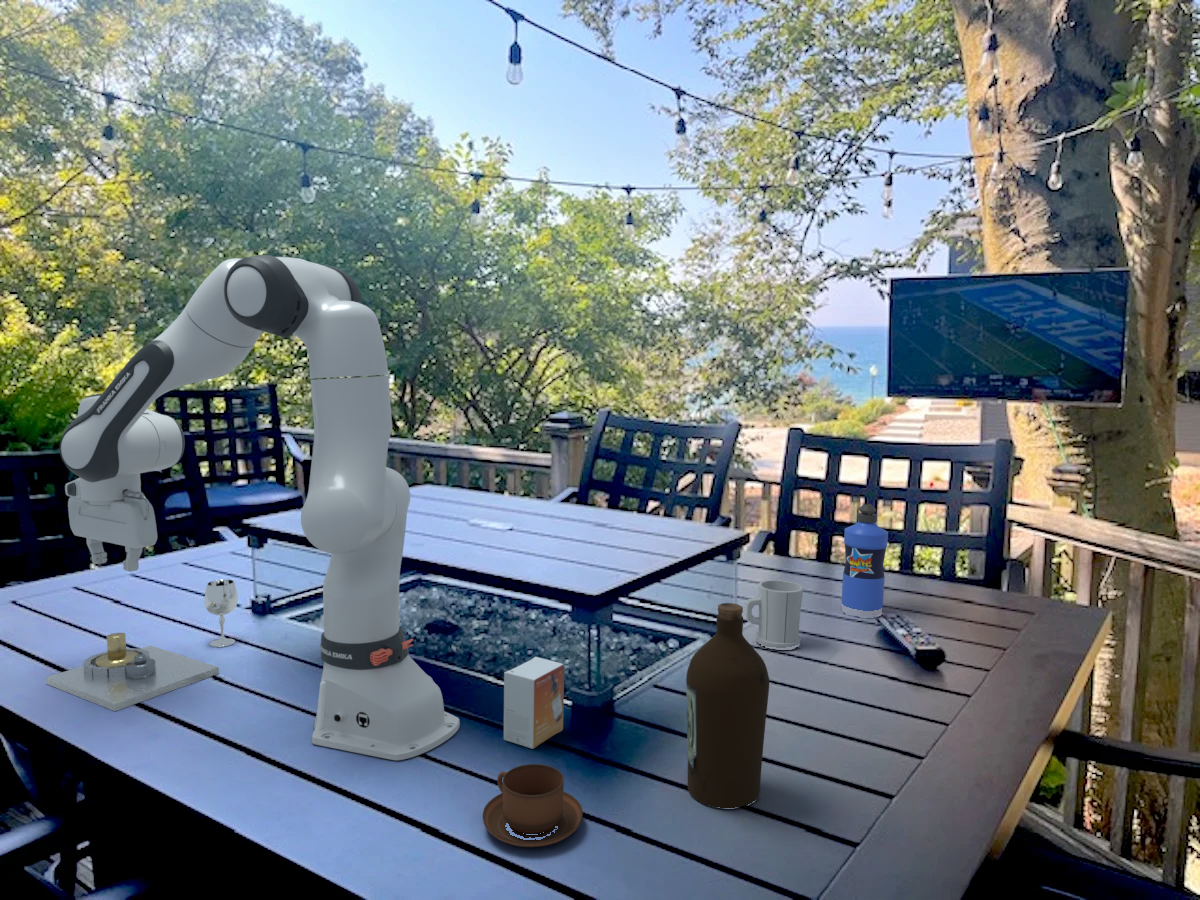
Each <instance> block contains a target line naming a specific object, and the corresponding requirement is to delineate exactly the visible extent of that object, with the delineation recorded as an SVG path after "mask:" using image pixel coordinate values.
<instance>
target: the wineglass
mask: <svg viewBox="0 0 1200 900" xmlns="http://www.w3.org/2000/svg"><path fill="white" fill-rule="evenodd" d="M205 588H206V589H205V595H204V607H205V609H206V611H207V612H208V613H209V614H211V615H215V616H219V619H218V622H219V626H220V638H218V639H216V640H215V639H214V640H212V641H211V642H210V643H209V646H211V647H214V648H223V647H228V646H232V645H234V644H235V643H236V640H235V639H233V638H226V637H225V635H224V634H225V633H224V625H225V619H226V618H225V617H224V616H226V615H229V614H230V613H231V612H232V613H233V611H234V610H235V609H236V607H237V605H238V600H239V599H238V592H237V587H236V584H235V581H234V580H232V579H216V580H213V581H208V582H207V584H206V587H205Z"/></svg>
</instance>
